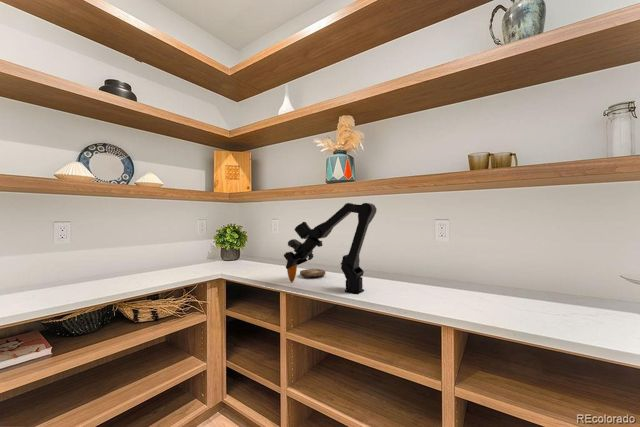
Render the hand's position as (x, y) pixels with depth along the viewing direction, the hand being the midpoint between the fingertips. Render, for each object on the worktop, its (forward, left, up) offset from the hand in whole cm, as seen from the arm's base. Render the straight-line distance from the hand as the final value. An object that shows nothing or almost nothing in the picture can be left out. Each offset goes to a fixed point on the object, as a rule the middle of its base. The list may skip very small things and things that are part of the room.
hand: (289, 267), depth 134 cm
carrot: (-1, 0, -8) cm, 8 cm away
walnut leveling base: (-1, -17, -8) cm, 19 cm away
